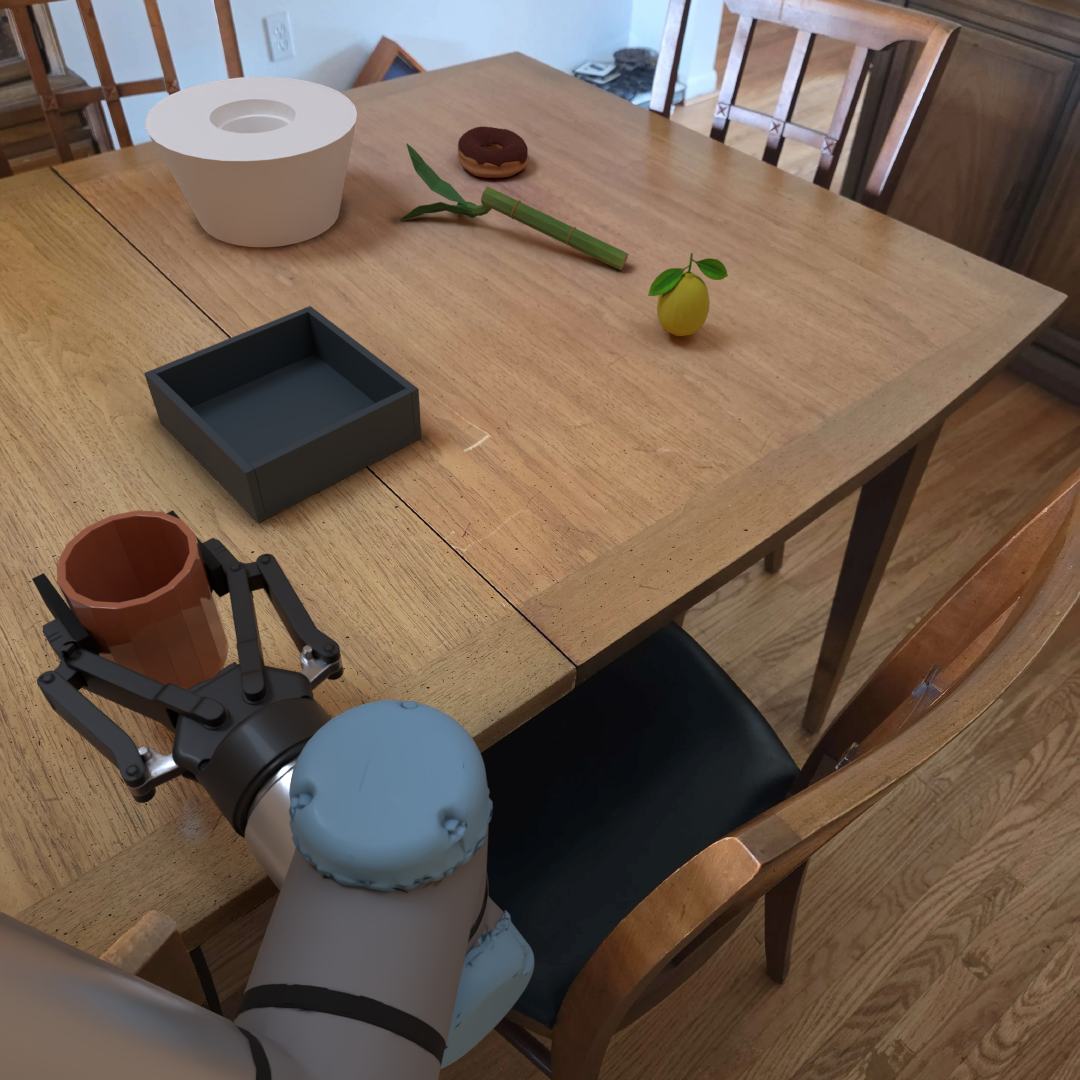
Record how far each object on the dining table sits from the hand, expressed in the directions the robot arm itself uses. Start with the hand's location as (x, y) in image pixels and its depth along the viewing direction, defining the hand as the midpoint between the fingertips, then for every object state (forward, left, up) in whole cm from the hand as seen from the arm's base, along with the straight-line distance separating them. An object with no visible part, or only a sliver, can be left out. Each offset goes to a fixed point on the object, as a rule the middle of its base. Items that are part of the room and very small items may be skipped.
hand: (111, 557), depth 61 cm
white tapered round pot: (+43, +54, -11) cm, 70 cm away
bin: (+22, +16, -11) cm, 30 cm away
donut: (+74, +47, -11) cm, 89 cm away
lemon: (+63, +3, -11) cm, 64 cm away
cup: (0, -5, -6) cm, 8 cm away
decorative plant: (+63, +30, -11) cm, 71 cm away
